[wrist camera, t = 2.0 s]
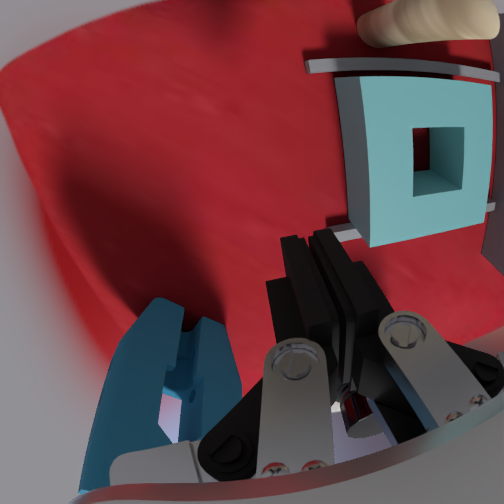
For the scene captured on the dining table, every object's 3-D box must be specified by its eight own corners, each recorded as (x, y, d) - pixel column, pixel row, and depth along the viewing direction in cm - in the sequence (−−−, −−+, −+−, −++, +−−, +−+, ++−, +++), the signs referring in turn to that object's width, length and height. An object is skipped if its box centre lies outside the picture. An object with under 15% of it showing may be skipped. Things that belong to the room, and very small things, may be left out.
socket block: (454, 79, 18) (491, 85, 14) (454, 200, 24) (483, 222, 20) (334, 77, 19) (359, 76, 14) (348, 218, 25) (369, 247, 21)
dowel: (388, 14, 15) (491, -12, 5) (395, 49, 17) (504, 45, 7) (352, 11, 16) (446, -29, 5) (360, 47, 17) (463, 32, 7)
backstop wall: (495, 18, 13) (566, 22, 5) (490, 250, 28) (538, 298, 19) (287, -14, 15) (323, -71, 6) (330, 292, 29) (360, 371, 21)
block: (125, 317, 30) (77, 493, 13) (140, 286, 28) (82, 488, 11) (220, 357, 34) (220, 523, 16) (243, 332, 32) (253, 519, 14)
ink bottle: (325, 308, 30) (357, 405, 20) (394, 306, 31) (438, 388, 21) (306, 364, 35) (324, 448, 25) (367, 360, 36) (394, 435, 26)
